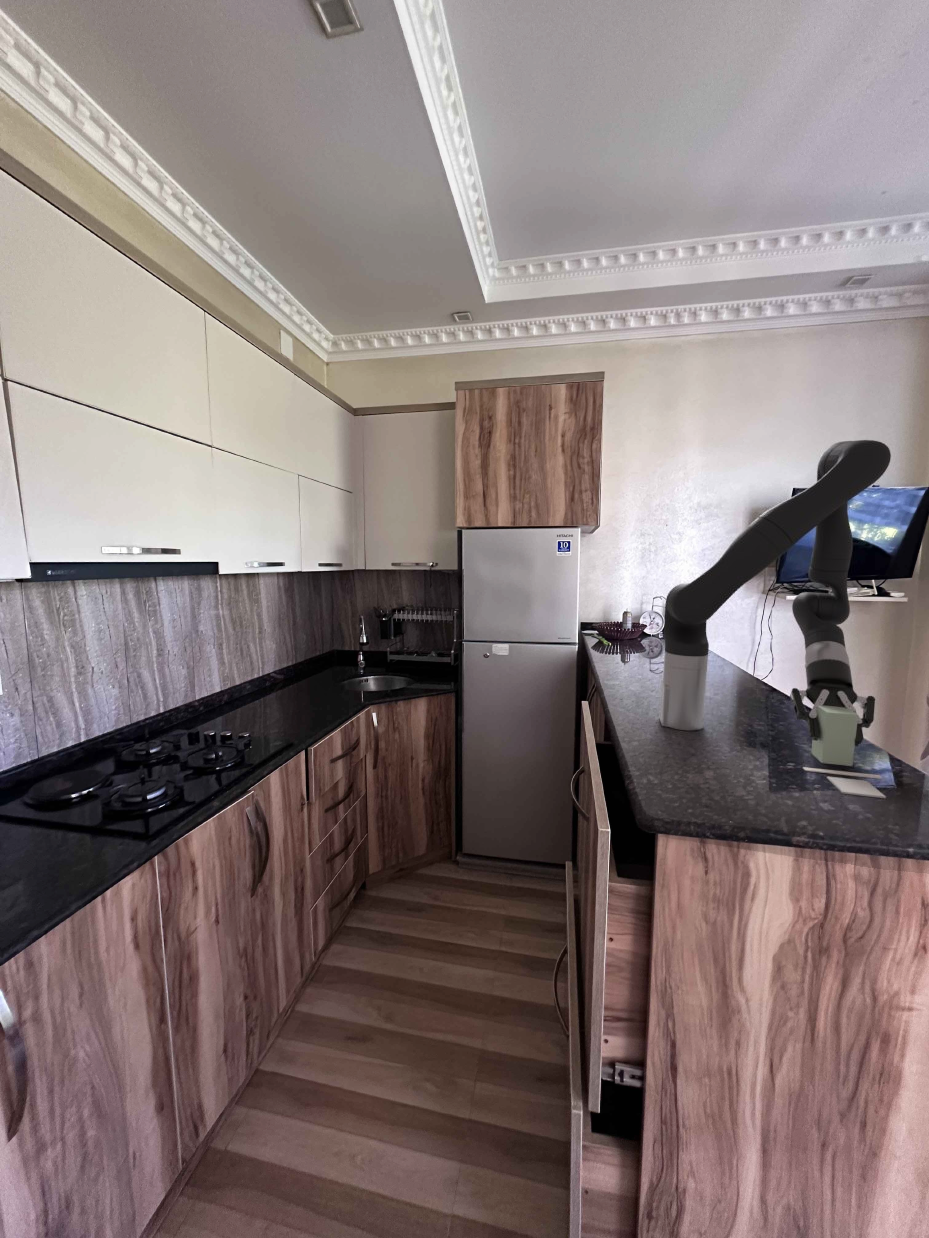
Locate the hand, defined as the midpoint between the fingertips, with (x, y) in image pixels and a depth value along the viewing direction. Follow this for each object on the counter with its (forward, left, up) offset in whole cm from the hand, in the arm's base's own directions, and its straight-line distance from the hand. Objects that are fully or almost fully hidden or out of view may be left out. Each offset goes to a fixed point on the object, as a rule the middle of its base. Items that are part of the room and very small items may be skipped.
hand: (836, 741), depth 93 cm
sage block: (0, +2, -4) cm, 5 cm away
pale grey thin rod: (-1, -5, -4) cm, 7 cm away
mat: (-1, -11, -4) cm, 12 cm away
